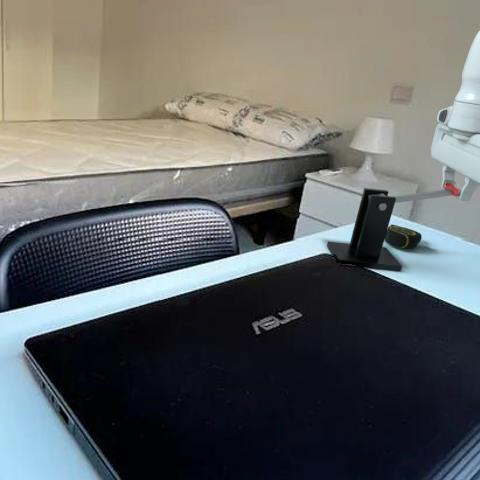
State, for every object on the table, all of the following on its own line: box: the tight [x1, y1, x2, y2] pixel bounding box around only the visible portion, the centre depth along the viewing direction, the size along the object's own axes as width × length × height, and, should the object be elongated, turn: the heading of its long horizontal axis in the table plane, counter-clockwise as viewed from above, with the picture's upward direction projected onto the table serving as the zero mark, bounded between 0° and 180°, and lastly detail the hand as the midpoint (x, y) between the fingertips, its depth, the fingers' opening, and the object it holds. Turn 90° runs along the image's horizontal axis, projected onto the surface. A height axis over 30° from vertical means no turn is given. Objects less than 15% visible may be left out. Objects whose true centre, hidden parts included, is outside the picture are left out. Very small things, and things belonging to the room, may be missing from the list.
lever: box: [368, 184, 460, 204], centre depth 94 cm, size 16×5×2 cm, turn 86°
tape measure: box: [384, 224, 423, 250], centre depth 107 cm, size 7×7×4 cm
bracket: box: [326, 187, 403, 273], centre depth 97 cm, size 12×9×14 cm
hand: (454, 194), depth 94 cm, fingers closed on lever, 5 cm apart
